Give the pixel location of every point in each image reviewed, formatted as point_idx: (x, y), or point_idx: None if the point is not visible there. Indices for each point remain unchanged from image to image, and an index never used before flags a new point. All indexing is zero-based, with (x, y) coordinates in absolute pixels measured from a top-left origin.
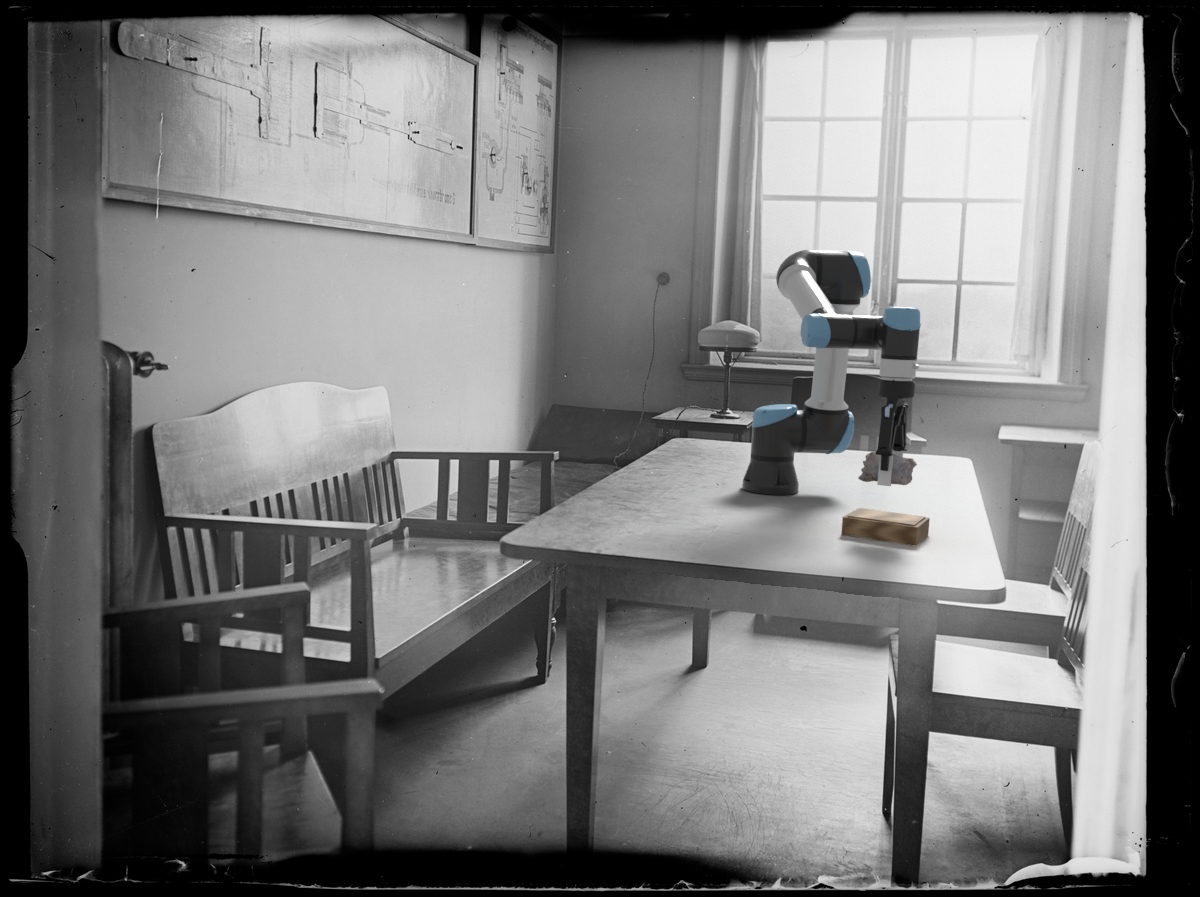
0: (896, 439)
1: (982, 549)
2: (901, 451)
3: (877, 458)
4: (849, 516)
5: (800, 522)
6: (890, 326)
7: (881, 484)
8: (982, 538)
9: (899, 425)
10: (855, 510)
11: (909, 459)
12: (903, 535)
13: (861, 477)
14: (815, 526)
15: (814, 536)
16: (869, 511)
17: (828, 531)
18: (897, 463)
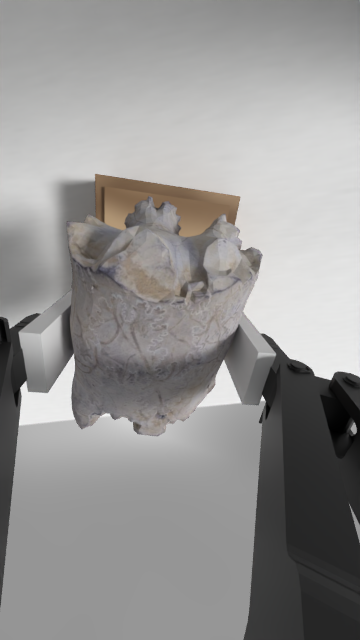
0: (270, 431)
1: None
2: (255, 399)
3: (80, 304)
4: (105, 193)
5: (193, 24)
6: None
7: None
8: (224, 404)
9: (257, 601)
10: (206, 194)
11: (135, 426)
12: None
13: (134, 212)
14: (163, 89)
15: (44, 112)
16: (195, 235)
17: (124, 140)
18: (78, 384)
